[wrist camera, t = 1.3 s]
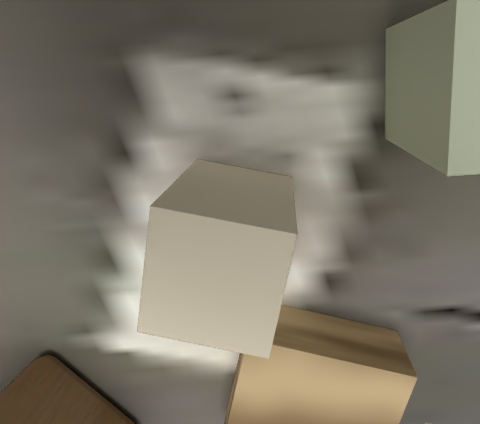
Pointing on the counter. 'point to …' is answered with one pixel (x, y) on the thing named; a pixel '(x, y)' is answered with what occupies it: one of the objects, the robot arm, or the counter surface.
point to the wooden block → (55, 398)
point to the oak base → (323, 374)
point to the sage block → (436, 86)
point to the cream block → (219, 258)
